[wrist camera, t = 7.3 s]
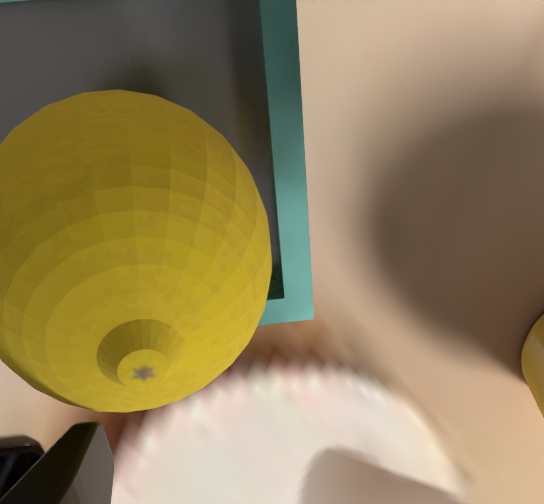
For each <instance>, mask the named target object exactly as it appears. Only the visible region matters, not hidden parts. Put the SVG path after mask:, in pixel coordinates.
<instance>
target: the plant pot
mask: <svg viewBox="0 0 544 504" xmlns="http://www.w3.org/2000/svg"><path fill="white" fill-rule="evenodd" d="M521 367H522V372H523V375H524V378H525V380H526V382H527V384H528V386H529V389H530V391H531V393H532V395H533V397H534V399H535V401H536V403H537V405H538V407H539V409H540V411H541V413H542V415H543V417H544V314H543V315H542V316H541V317H540V318H539V319H538V320H537V322H536V323H535V324H534V326H533V327H532V329H531V330H530V332H529V334H528V336H527V338H526V340H525V342H524V346H523V349H522V355H521Z"/></svg>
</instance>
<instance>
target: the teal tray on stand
mask: <svg viewBox="0 0 544 504" xmlns="http://www.w3.org/2000/svg"><path fill="white" fill-rule="evenodd" d="M118 89H120V90H126V91H132V92H139V93H145V94H151V95H156V96H159V97H161V98H163V99H166V100H168V101H170V102H173V103H175V104H177V105H180V106H182V107H184V108H187V109H189V110H191V111H192V112H194V113H195V114H196V115H197V116H199V117H200V118H201V119H203V120H204V121H205V122H206V123H208V124H209V125H210V126H212V127H213V128H214V129H215V130H217V131H218V132H219V133H221V134H222V135H223V136H224V137H225V139H226V140H227V141H228V142H229V144H230V145H231V146H232V148H233V149H234V150H235V152H236V153H237V154H238V156H239V157H240V158H241V159H242V161H243V162H244V163H245V165H246V166H247V168H248V169H249V171H250V173H251V175H252V177H253V180H254V182H255V185H256V187H257V190H258V192H259V195H260V197H261V200H262V202H263V205H264V208H265V210H266V214H267V218H268V225H269V235H270V245H271V256H272V273H271V278H270V284H269V290H268V295H267V301H266V305H265V310H264V312H263V314H262V316H261V318H260V320H259V323H258V325H267V324H276V323H284V322H293V321H301V320H310V319H314V310H313V292H312V274H311V256H310V239H309V221H308V203H307V185H306V168H305V150H304V132H303V114H302V97H301V79H300V61H299V43H298V26H297V8H296V0H0V144H1V143H2V142H3V140H4V139H5V138H6V137H7V135H8V134H9V133H10V132H11V131H12V130H13V129H14V128H15V127H16V126H18V125H19V124H21V123H22V122H23V121H25V120H26V119H28V118H29V117H31V116H32V115H33V114H35V113H36V112H38V111H39V110H40V109H42V108H43V107H45V106H47V105H49V104H52V103H55V102H58V101H60V100H63V99H66V98H69V97H72V96H74V95H77V94H80V93H83V92H94V91H106V90H118ZM258 325H257V326H258Z"/></svg>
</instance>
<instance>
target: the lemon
mask: <svg viewBox="0 0 544 504" xmlns="http://www.w3.org/2000/svg"><path fill="white" fill-rule="evenodd" d="M271 273H272V256H271V245H270V235H269V225H268V218H267V214H266V210H265V208H264V205H263V202H262V200H261V197H260V195H259V192H258V190H257V187H256V185H255V182H254V180H253V177H252V175H251V173H250V171H249V169H248V168H247V166H246V165H245V163H244V162H243V161H242V159H241V158H240V157H239V156H238V154H237V153H236V152H235V150H234V149H233V148H232V146H231V145H230V144H229V142H228V141H227V140H226V139H225V137H224V136H223V135H222V134H221V133H219V132H218V131H217V130H215V129H214V128H213V127H212V126H210V125H209V124H208V123H206V122H205V121H204V120H203V119H201V118H200V117H199V116H197V115H196V114H195V113H194V112H192V111H191V110H189V109H187V108H184V107H182V106H180V105H177V104H175V103H173V102H170V101H168V100H166V99H163V98H161V97H159V96H156V95H151V94H145V93H139V92H132V91H126V90H120V89H118V90H106V91H94V92H83V93H80V94H77V95H74V96H72V97H69V98H66V99H63V100H60V101H58V102H55V103H52V104H49V105H47V106H45V107H43V108H42V109H40V110H39V111H38V112H36V113H35V114H33V115H32V116H31V117H29V118H28V119H26V120H25V121H23V122H22V123H21V124H19V125H18V126H16V127H15V128H14V129H13V130H12V131H11V132H10V133H9V134H8V135H7V137H6V138H5V139H4V140H3V142H2V143H1V144H0V359H1V360H2V362H4V363H5V364H6V365H7V366H8V367H9V368H10V369H11V370H12V371H14V372H15V373H16V374H17V375H19V376H20V377H21V378H22V379H23V380H25V381H26V382H27V383H28V384H29V385H31V386H32V387H33V388H34V389H36V390H38V391H40V392H42V393H44V394H47V395H49V396H51V397H53V398H55V399H57V400H59V401H61V402H63V403H66V404H69V405H74V406H78V407H82V408H86V409H90V410H94V411H106V412H131V411H139V410H146V409H153V408H157V407H160V406H163V405H166V404H169V403H172V402H175V401H178V400H181V399H183V398H185V397H186V396H188V395H190V394H192V393H194V392H196V391H197V390H199V389H201V388H203V387H205V386H206V385H207V384H208V383H210V382H211V381H212V380H213V379H214V378H216V377H217V376H218V375H219V374H220V373H222V372H223V371H224V370H225V369H227V368H228V367H229V366H230V365H231V364H232V363H233V362H234V360H235V359H236V358H237V357H238V355H239V354H240V353H241V352H242V350H243V349H244V348H245V347H246V345H247V344H248V343H249V341H250V339H251V337H252V335H253V333H254V331H255V329H256V327H257V325H258V323H259V320H260V318H261V316H262V314H263V312H264V310H265V305H266V301H267V295H268V290H269V284H270V278H271Z"/></svg>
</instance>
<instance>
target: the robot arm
mask: <svg viewBox="0 0 544 504" xmlns="http://www.w3.org/2000/svg"><path fill="white" fill-rule="evenodd" d="M30 456H33V457H35V458H32V457H30ZM113 475H114V461H113V456H112V452H111V449H110V446H109V443H108V440H107V437H106V434H105V431H104V428H103V425H102V424H101V423H100V422H99V421H89V422H81V423H77V424H74V425H73V426H71V427H70V428H69V429H68V430H67V431H66V432H65V433H64V434H63V436H62V437H61V438H60V439H59V440H58V441H57V442H56V443H55V444H54V445H53V446H52V447H51V448H50V449H49V450H48V451H47V452H46V453H45V452H44V450H43V449H42V448H40V447H38V446H23V447H15V448H7V449H0V504H111V495H112V485H113Z"/></svg>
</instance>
